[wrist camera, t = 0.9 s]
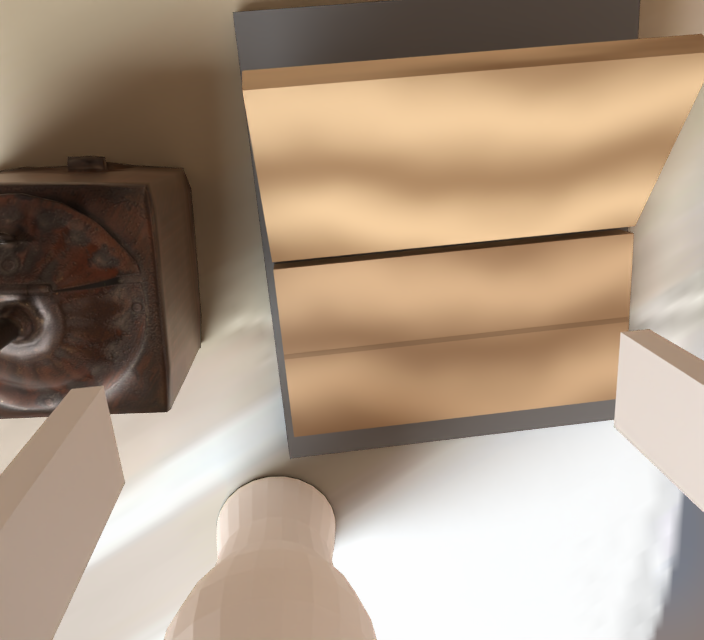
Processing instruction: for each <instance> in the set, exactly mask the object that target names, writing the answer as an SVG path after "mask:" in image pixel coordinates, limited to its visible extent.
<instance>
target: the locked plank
mask: <svg viewBox="0 0 704 640" xmlns="http://www.w3.org/2000/svg"><path fill="white" fill-rule="evenodd" d="M633 237H634V233H630V232H627V231H623V230H610V231H600V232H590V233H580V234H570V235H560V236H550V237H540V238H530V239H520V240H510V241H500V242H490V243H480V244H470V245H460V246H450V247H440V248H430V249H421V250H411V251H401V252H391V253H381V254H371V255H361V256H351V257H341V258H331V259H321V260H311V261H301V262H291V263H281V264H274V268H273V271H274V280H275V288H276V296H277V304H278V312H279V320H280V328H281V336H282V344H283V352H284V360H285V368H286V376H287V384H288V392H289V400H290V408H291V416H292V424H293V432H294V437H299V436H308V435H316V434H325V433H333V432H342V431H350V430H359V429H367V428H376V427H384V426H392V425H401V424H409V423H418V422H426V421H435V420H443V419H452V418H460V417H469V416H477V415H486V414H494V413H502V412H511V411H519V410H528V409H536V408H545V407H553V406H562V405H570V404H579V403H587V402H596V401H604V400H612V399H616V390H617V376H618V362H619V348H620V334H621V332H627V331H628V329H629V311H630V293H631V274H632V256H633Z"/></svg>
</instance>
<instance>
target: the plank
mask: <svg viewBox="0 0 704 640" xmlns="http://www.w3.org/2000/svg"><path fill="white" fill-rule="evenodd" d="M703 82H704V36H703V35H702V34H694V35H682V36H669V37H657V38H644V39H632V40H619V41H607V42H594V43H582V44H569V45H557V46H545V47H532V48H520V49H507V50H495V51H482V52H470V53H457V54H445V55H432V56H420V57H407V58H395V59H382V60H370V61H357V62H345V63H332V64H320V65H308V66H295V67H283V68H270V69H258V70H245V71H242V91H243V97H244V103H245V108H246V114H247V120H248V126H249V131H250V137H251V143H252V149H253V154H254V160H255V166H256V172H257V177H258V183H259V189H260V195H261V200H262V206H263V212H264V218H265V223H266V229H267V235H268V241H269V246H270V252H271V258H272V262H281V261H291V260H301V259H311V258H321V257H331V256H341V255H351V254H361V253H371V252H381V251H391V250H401V249H411V248H421V247H431V246H441V245H451V244H461V243H471V242H481V241H491V240H501V239H511V238H521V237H531V236H541V235H551V234H561V233H571V232H581V231H591V230H601V229H611V228H621V227H631V226H635V225H636V223H637V221H638V219H639V217H640V214H641V212H642V210H643V208H644V206H645V204H646V202H647V200H648V198H649V196H650V193H651V191H652V189H653V187H654V185H655V183H656V181H657V179H658V177H659V175H660V173H661V170H662V168H663V166H664V164H665V162H666V160H667V158H668V156H669V154H670V152H671V149H672V147H673V145H674V143H675V141H676V139H677V137H678V135H679V133H680V131H681V129H682V126H683V124H684V122H685V120H686V118H687V116H688V114H689V112H690V110H691V108H692V105H693V103H694V101H695V99H696V97H697V95H698V93H699V91H700V89H701V87H702V85H703Z"/></svg>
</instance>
